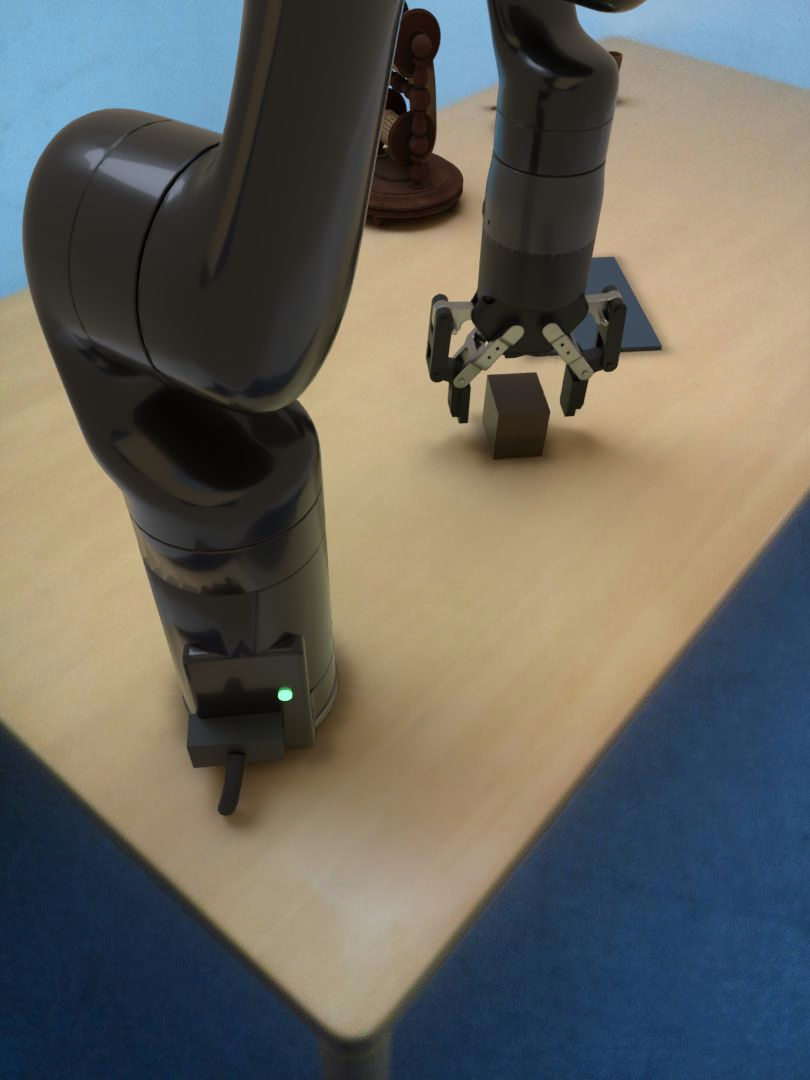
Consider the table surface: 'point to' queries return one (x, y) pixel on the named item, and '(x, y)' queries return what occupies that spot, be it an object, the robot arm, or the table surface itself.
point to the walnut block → (515, 415)
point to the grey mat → (636, 322)
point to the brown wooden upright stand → (412, 131)
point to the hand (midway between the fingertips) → (514, 413)
